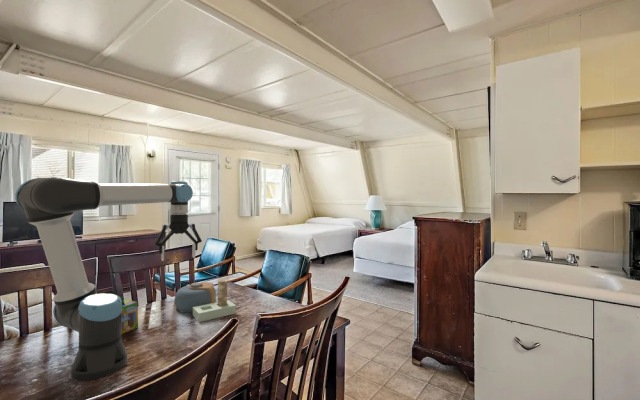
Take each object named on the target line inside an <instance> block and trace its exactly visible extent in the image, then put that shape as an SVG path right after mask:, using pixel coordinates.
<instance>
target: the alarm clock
mask: <svg viewBox="0 0 640 400" xmlns="http://www.w3.org/2000/svg"><path fill="white" fill-rule="evenodd" d="M216 293H217V291H216V288H215V284H213V283H212V282H209V281H200V282H199V281H198V282H192V283H191V284H188V285H185V286H182V287H181V288H178V290H177V291H176V293H175V308H176V309H177V310H178V312H181V313H193V307H196V306H201V305H206V304H211V303H216V302H218V300H217V298H216V297H217V295H216Z"/></svg>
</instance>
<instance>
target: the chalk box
mask: <svg viewBox="0 0 640 400" xmlns="http://www.w3.org/2000/svg"><path fill="white" fill-rule="evenodd" d="M119 297H120V298H121V301H122V334H121V335H124V334H125V333H128V332H130V331H133V330H135V329H138V328H139V312H138V311H139V308H138V307H139V305H138V301H134V300H129V299H124V298H123V297H122V296H119Z"/></svg>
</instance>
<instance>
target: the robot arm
mask: <svg viewBox="0 0 640 400" xmlns="http://www.w3.org/2000/svg"><path fill="white" fill-rule="evenodd" d="M193 194H194V192H193V188H192V187H191V186H190V185H189V184H188V181H179V180H172V181H171V182H170V183H99V182H97V181H96V180H93V179H92V180H90V179H87V180H86V179H74V178H68V177H60V176H59V177H58V176H56V177H55V176H54V177H53V176H52V177H51V176H50V177H37V178H32V179H29V180H27V181H25V182H23V183H22V184H20V185H19V186H18V188H17V189H16V191H15V193H14V197H15V198H14V199H15V202H16V204H17V205H18V207H19V208H20V209H21V210H23V211H24V214H25V216H26V219H27V222H28V224H30V225H33V226H34V227H36V230H37V231H38V235H39V239H40V242H41V244H42V248H43V251H44V254H45V257H46V260H47V264H48V266H49V270H50V273H51V276H52V279H53V283H54V285H55V289H56V294H55V295H54V296H53V302H54V303H53V304H54V305H53V309H52V313H53V315H52V316H53V317H54V320H55V321H56V322H57V323H58V324H59V325H60V326H62V327H64V328H68V329H70V330H73V331H75V332H77V333H78V350H77V353H76V355H75V358H74V361H73V362H72V365H71V369H70V371H71V372H70V373H71V374H70V377H71V378H72V379H73V380H76V381H80V382H81V381H92V380H97V379H101V378H104V377H105V378H106V377H107V376H108V377H109V375H112V374H114V373H116V372H118V371H120V370H121V369H122V368H123V367H125V366H126V364H128V363H127V362H128V353H127V350H126V348H125V345H124V342H123V340H122V335H123V334H122V301H121V298H120V297H121V296H119V295H117V294H113V293H98V291H97V288H96V285H95V284H94V283H91V282H89V280H88V277H87V274H86V270H85V266H84V262H83V260H82V256H81V252H80V249H79V246H78V242H77V240H76V239H77V238H76V235H75V231H74V228H73V225H72V222H71V218H73V216H74V215H75V212H81V211H87V210H89V211H90V210H91V211H92V210H97V209H99V207H104V206H121V205H124V206H125V205H140V204H143V205H144V204H159V203H161V204H162V203H170V211H169V212H170V215H169V216H170V217H169V218H170V219H169V221H170V222H169V224H162V227H161V230H160V232H159V234H158V236H157V238H156V240H155V241H154V242H153V243H154V245H155V246H156V247H157V246H158V253H159V254H161V255H160V258H161V259H160V260H161V261H162V262H164V261H165V246H164V245H165V244H166V242H168V240H169V239H170V238H171V237H172V236H173V235H174V234H175V235H178V234H181V235H182V234H185V235H186V236H187V237H188V238H189V239H190V241H192V242H193V243H192V244H191V245H192V247H191V250H192V251H191V253H192V254H191V258H193V259H195V258H196V251H198V248H199V246H198V245H199V243H202V241H203V240H202V238H201V237H200V234H199V232H198V231H197V229H196V224H195V223H189V215H188V213H189V201H190V200H191V199H192V198H193ZM188 228H189V229H191V231H192V232H193V235H194V236H193V235H192V234H191V232H189V231H188ZM168 229H169V230H170V231H169V232H168V233H167V234H166V235H165V233H166V231H167V230H168ZM164 235H165V236H164ZM163 236H164V238H163ZM162 238H163V239H162ZM195 238H196V239H195Z"/></svg>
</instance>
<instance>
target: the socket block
mask: <svg viewBox="0 0 640 400" xmlns="http://www.w3.org/2000/svg"><path fill="white" fill-rule="evenodd" d="M235 314H237V305H236V304H235V303H234V302H232V301H230V299H227V305H226V306H222V307H219V306H218V301H217V302H216V303H211V304H206V305H201V306H196V307H193V312H192V316H193V318H195V320H196V321H197V322H198V323H200V322H205V321H209V320H212V319H213V320H214V319H217V318H222V317H225V316H230V315H235Z"/></svg>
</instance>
